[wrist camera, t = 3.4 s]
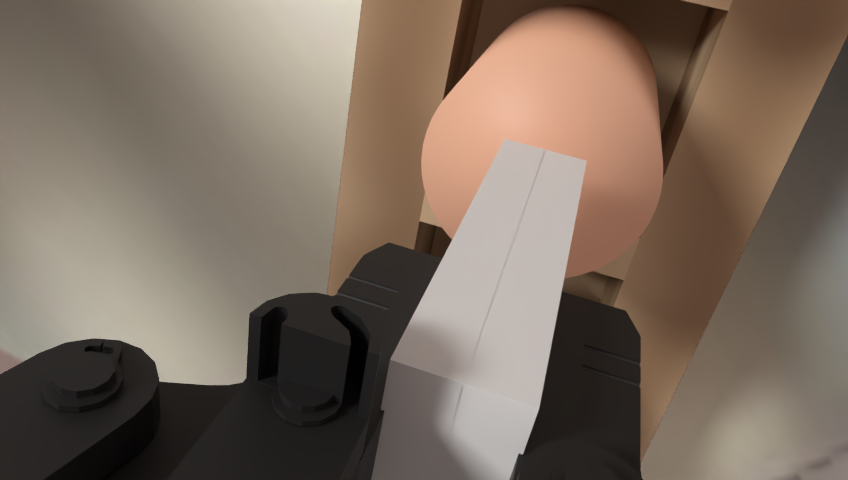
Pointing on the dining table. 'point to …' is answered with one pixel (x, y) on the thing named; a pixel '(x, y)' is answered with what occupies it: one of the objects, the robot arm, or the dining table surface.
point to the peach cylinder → (557, 124)
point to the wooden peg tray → (680, 137)
